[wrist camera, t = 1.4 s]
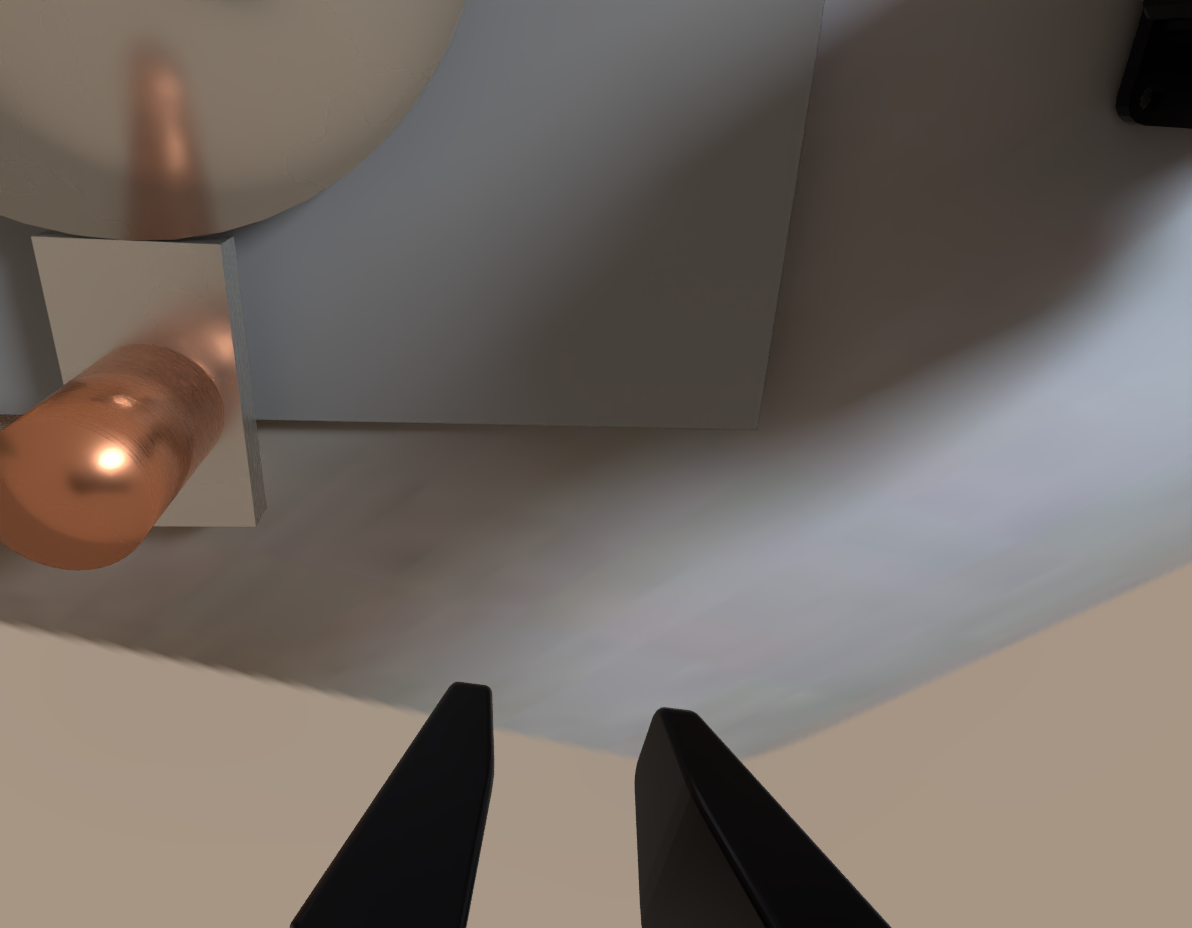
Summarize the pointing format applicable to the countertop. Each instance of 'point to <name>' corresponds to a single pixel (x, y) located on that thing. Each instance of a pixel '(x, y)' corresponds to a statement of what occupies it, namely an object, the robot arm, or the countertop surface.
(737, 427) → the slate board
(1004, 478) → the countertop surface
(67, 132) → the flange plate
